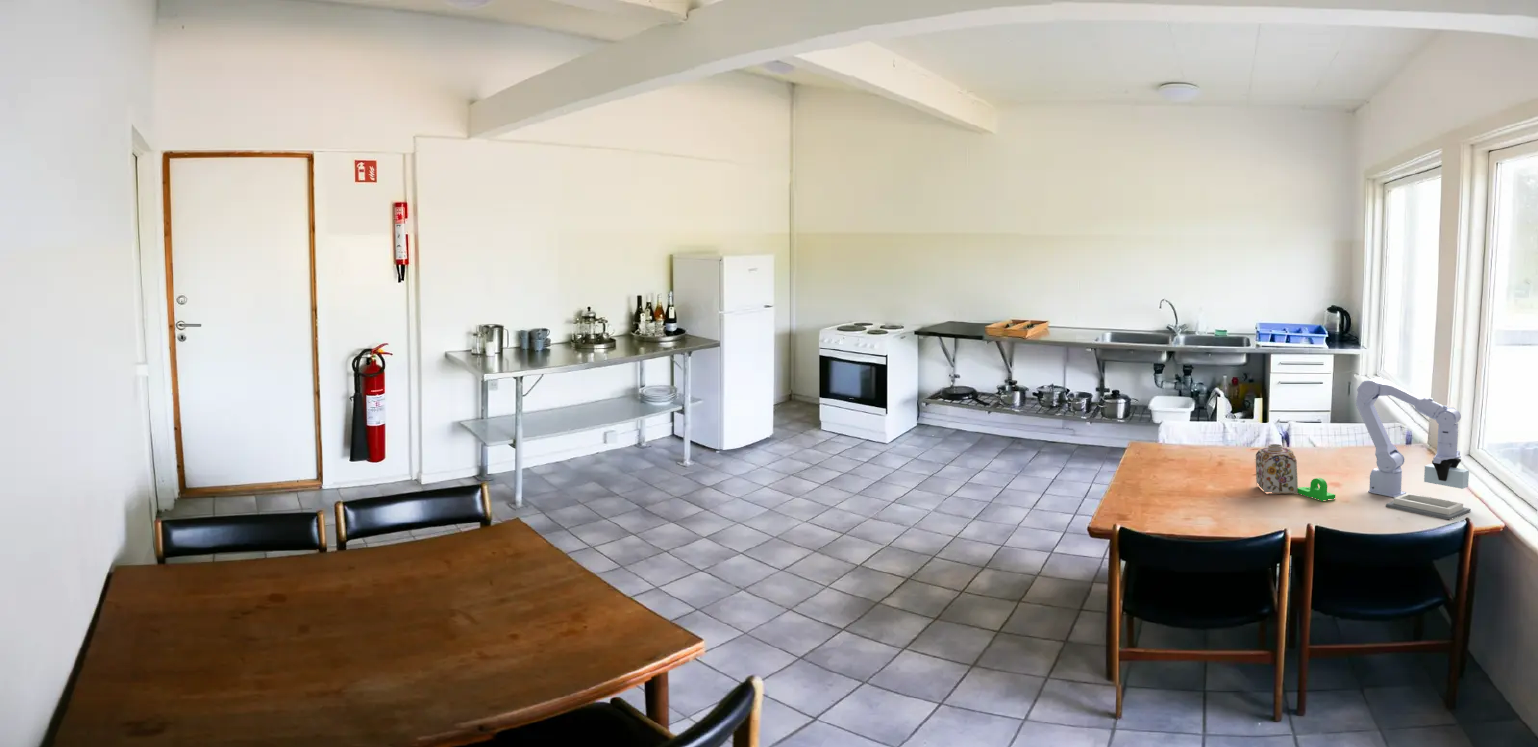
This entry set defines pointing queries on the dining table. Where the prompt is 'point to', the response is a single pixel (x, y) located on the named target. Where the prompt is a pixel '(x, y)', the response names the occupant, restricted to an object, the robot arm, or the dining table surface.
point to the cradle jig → (1428, 506)
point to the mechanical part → (1316, 490)
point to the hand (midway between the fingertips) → (1445, 479)
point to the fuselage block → (1454, 478)
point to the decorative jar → (1276, 469)
